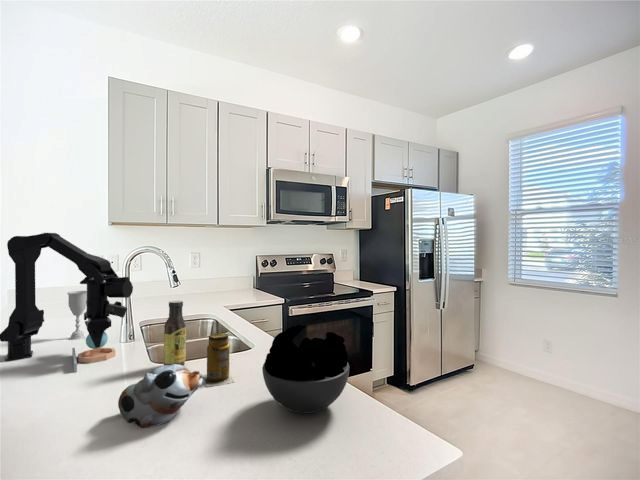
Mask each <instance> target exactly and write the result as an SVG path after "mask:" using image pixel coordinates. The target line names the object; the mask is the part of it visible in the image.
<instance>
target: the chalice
mask: <svg viewBox="0 0 640 480" xmlns="http://www.w3.org/2000/svg"><path fill="white" fill-rule="evenodd" d="M66 294H67V295H68V300H67V301H68V302H67V303H68V308H69V310H70V311H71V313H72V314H73V316H75V318H76V319H75V325H74V326H75V331H73V332H72V333H71V335H70V337H69V339H70V340H80V338H81V339H84V338H86V335H85V334H84V331H83V330H81V329H80V327H81V324H80V321H81V319H80V316H82V315H83V314H84V313H85V312H84V311H85V309H87V304H86V300H87V290H73V291H68V292H66ZM83 337H84V338H83Z"/></svg>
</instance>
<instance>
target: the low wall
mask: <svg viewBox="0 0 640 480" xmlns="http://www.w3.org/2000/svg"><path fill="white" fill-rule="evenodd" d="M71 350H72V351H71V354H72V355H71V356H72V363H73V372H74V373H77V372H78V363H77V362H78V359H77V354H76V349H75V347H72V349H71Z"/></svg>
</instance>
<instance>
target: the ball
mask: <svg viewBox="0 0 640 480" xmlns="http://www.w3.org/2000/svg"><path fill="white" fill-rule="evenodd" d="M108 338H109V336H108V334H107V333H106V331H104V333H103V337H102V340H101V344H100V347H97V348H96V347H95V345H94V343H93V341H92V339H91V337H90V335H89V334H87V336H86V337H85V344H86V346H87V347H88V348H89V349H90V350H91V349H99V348H104V347H105V345H106V344H107V342H108V340H109V339H108Z"/></svg>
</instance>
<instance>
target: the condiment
mask: <svg viewBox="0 0 640 480" xmlns="http://www.w3.org/2000/svg"><path fill="white" fill-rule="evenodd" d="M206 354H207V355H206V373H205V374H203V376H204V379H203V380H204V381H203V382H204V384H205V387H213V386H220V385H226V384H230V383H232V384H233V383H235V381H234V378H233V377H232V375H231V373H230V344H229V335H228V334H227V333H223V332H217V333H212V334H210V335H209V336H208V345H207V347H206Z"/></svg>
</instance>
